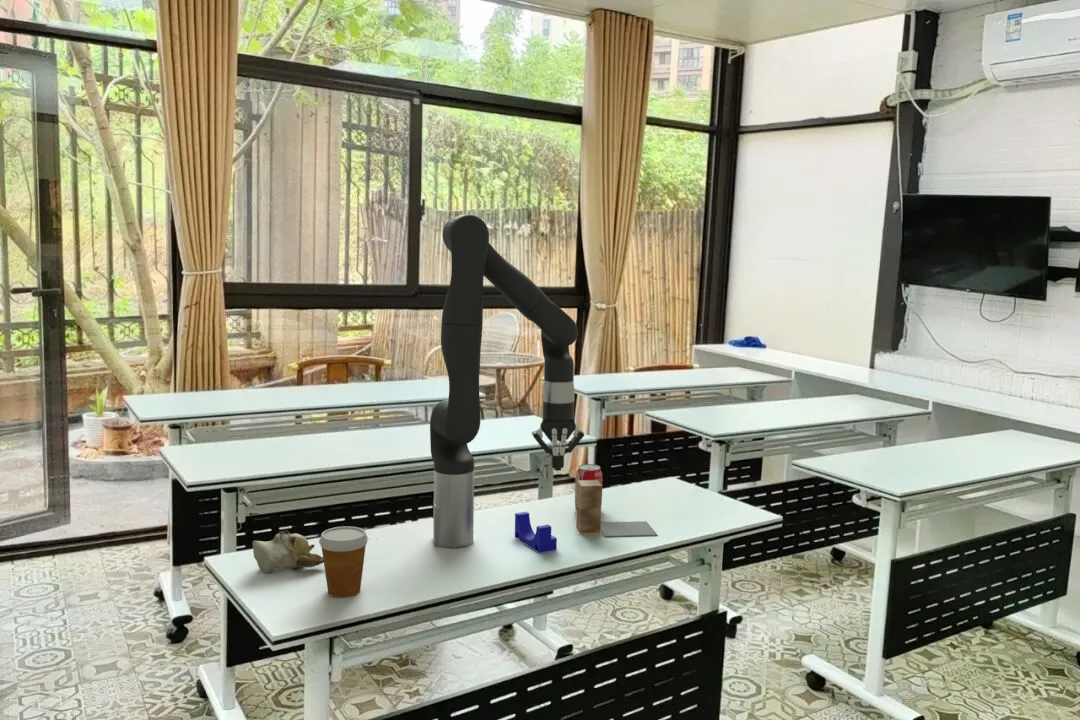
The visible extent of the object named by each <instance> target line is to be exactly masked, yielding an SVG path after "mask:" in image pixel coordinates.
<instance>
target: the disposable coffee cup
mask: <svg viewBox="0 0 1080 720" xmlns="http://www.w3.org/2000/svg"><path fill="white" fill-rule="evenodd" d="M368 541H369V537H368V535H367V532H366V529H363V528H361V527H357V526H345V525H343V526H335V527H332V528H328V529H325V530H324V531H322V532H321V534H320V538H319V539H318V543H319V545H320V547H321V552H322V557H323V560H324V562H323V565H324V566H323V567H324V573H325V581H326V587H327V593H329V594H330V596H331V595H332V596H331V597H334V596H337V597H336V598H349V596H350V597H353V596H355V595H358V594H359V593H360V592H361V588H362V578H363V570H364V563H365V553H366V546H367V543H368ZM329 594H328V595H329Z"/></svg>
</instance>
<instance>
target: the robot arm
mask: <svg viewBox="0 0 1080 720" xmlns="http://www.w3.org/2000/svg"><path fill="white" fill-rule="evenodd" d="M442 240H443V244H444V245H445V247H446V248H447V249H448V250H449V251H450V254H451V256H450V257H451V266H450V267H451V268H450V269H451V273H450V282H449V286H448V288H447V289H448V290H447V293H446V297H445V301H444V303H443V308H442V314H441V326H440V348H441V353H442V357H443V360H444V364H445V368H446V372H447V375H448V385H449V387H448V388H449V389H448V398H445V399H442V400H440V401H439V402H438V403H437V404H436V405H435V406H434V408H433V409H432V411H431V413H430V420H429V439H430V440H429V442H430V456H431V458H432V461H433V515H432V517H433V521H432V522H433V524H432V525H433V530H432V531H433V533H432V534H433V535H432V536H433V547H436V546H437V547H441V548H448V549H449V548H453V549H454V548H455V549H456V548H462V547H463V548H464V547H466V546H470V545H471V544H473V542H474V533H475V532H474V522H475V521H474V519H475V518H474V516H475V513H474V512H475V510H474V509H475V505H474V504H475V498H474V497H475V458H474V456H473V454H471V452H470V449H469V446H468V444H470V443H471V442H472V441H474V439H476V436H477V435H478V434H479V431H480V427H481V401H480V399H481V398H480V371H481V349H482V338H483V325H484V324H483V323H484V322H483V321H484V320H483V319H484V316H483V313H484V311H483V310H484V277H485V278H486V280H487V281H489V282H490V283H491V284H492V285H493V286H494V288H495V289H497V291H499V292H500V293H501V295H503V296H504V297H505V299H506V300H507V301H508V302H509V303H510V304H511V305H512V306H514V308H515V309H516V310H518V312H519V313H520V314H522V316H523V317H525V318H526V319H527V320H529V321H530V322H532V323H533V324H535V325H536V326H537V327H538V328H539V329H540V339H541V340H540V341H541V347H542V356H543V359H544V364H543V365H544V366H543V367H544V369H543V374H544V375H543V387H542V395H541V397H542V421H541V423H540V427H539V428H538V429H537V430H533V431H532V432H531V435H532V437H533V438H534V440H535V441H536V442H537V444H538V445H539V446H540V448H542V449H543V451H544V452H545V454H549V455H551V459H550V460H551V463H550V465H551V468H552V469H553V470H554V471H557V472H558V471H562V469H563V468H564V466H565V455H566V454H571V453H572V452H573V451H574V449H575V448H576V447H577V445H578V444H579V443H580V442H581V441H582V439H583V438H584V437H585V433H584V431H582V430H581V429H579V428H577V424H576V421H575V382H574V379H575V378H574V373H575V367H574V365H575V363H574V360H573V357H572V356H571V354H570V346H572V345H573V344H574V343H575V342H576V340H577V339H578V336H579V328H578V325H577V323H576V322H575V321H574V319H573V318H572V317H571V316H570V315H568V313H567V312H565V311H564V310H563V309H562V308H561V307H559V306H558V305H557V304H555V303H554V302H553V301H552V300H550V298H549V297H548V296H547V294H545V293H544V291H542V289H540V287H538V286H537V285H536V284H535V283H534V281H532V280H531V279H530V278H529V277H528V276H527V275H526V274H525V273H523V272H522V271H521V270H519V269H518V268H517V267H515V266H514V265H513V264H511V263H510V262H509V261H508V260H507V259H506V258H504V256H502V255H501V254H500V253H499V252H498V251H497V250H496V249H495V248H494V246H492V245H491V243H490V231H489V227H488V226H487V223H486V222H485V221H484V220H483V219H482V218H481V217H480V216H477V215H475V214H460V215H456V216H453V217H452V218H450V219H448V220H447V222H445V225H444V226H443V229H442ZM543 433H544V435H545V436H546V438H547V439H548V440H549V441H550V442H549V443H550V446H548V444H546V442H545V440H543V438H544V435H543ZM571 436H572V438H571V440H569V438H570V437H571ZM567 440H569V442H568V443H567Z"/></svg>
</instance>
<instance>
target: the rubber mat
mask: <svg viewBox="0 0 1080 720" xmlns="http://www.w3.org/2000/svg"><path fill="white" fill-rule="evenodd" d="M600 533H601V534H602V536H603V537H604V538H620V537H623V538H625V537H628V538H629V537H654V536H655V537H657V536H658V533H657V532H656V531H655V529H653V527H652V526H651V525H650V523H649V522H647V521H646V520H645V521H643V520H641V521H608V522H607V521H605V522H602V521H601V529H600Z"/></svg>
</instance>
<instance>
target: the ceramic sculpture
mask: <svg viewBox="0 0 1080 720" xmlns="http://www.w3.org/2000/svg"><path fill="white" fill-rule="evenodd" d="M314 548H315V544H309V542H308V540H307V538H306V537H305V536H304V535H302V534H299V533H297V532H295V533H290V531H289V530H288V529H284V530H282V531H279V532H278V533H277V534H275V536H274V537H273V539H272V540H269V541H262V540H253V541H252V551H253V558H254V559H255V561H256V563H257V566H258V568H259V570H260V572H262V573H265V574H271V573H272V572H273V571H274V570H275V569H287V570H288V569H289V568H290V569H296V568H299V567H303V568H314V567H316V566H317V567H318V566H319V565H321V564H324V560H323V556H322V555H320V554H316V553H311V551H312V550H313V549H314Z"/></svg>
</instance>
